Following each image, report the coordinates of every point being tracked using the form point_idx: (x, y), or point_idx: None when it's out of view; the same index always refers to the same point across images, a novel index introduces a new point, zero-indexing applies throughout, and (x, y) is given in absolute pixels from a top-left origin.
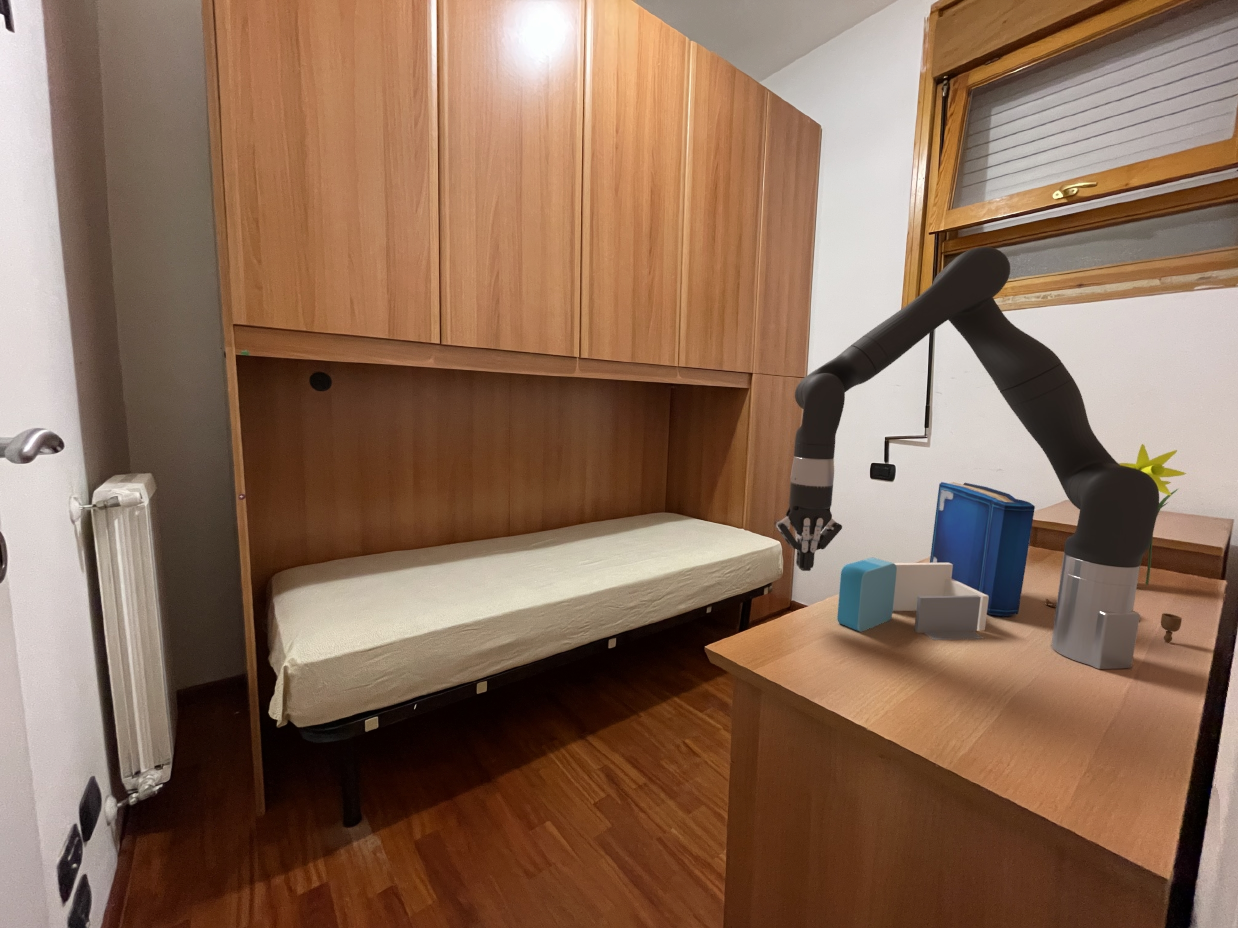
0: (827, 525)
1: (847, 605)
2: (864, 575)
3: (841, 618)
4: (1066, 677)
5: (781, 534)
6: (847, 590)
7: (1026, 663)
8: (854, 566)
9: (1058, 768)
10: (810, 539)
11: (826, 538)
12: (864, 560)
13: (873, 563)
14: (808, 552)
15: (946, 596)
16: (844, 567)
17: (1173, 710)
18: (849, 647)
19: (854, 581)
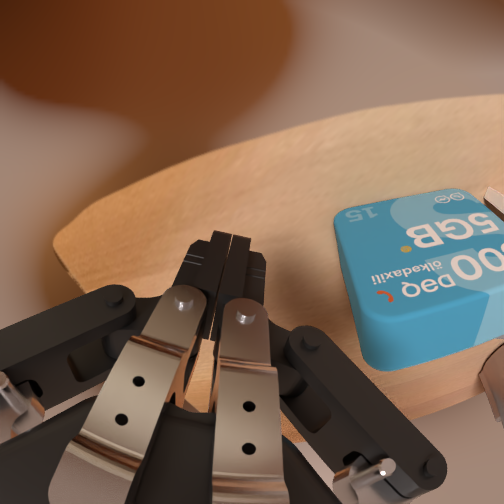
0: (342, 492)
1: (344, 266)
2: (373, 366)
3: (335, 232)
4: (445, 378)
5: (26, 325)
6: (351, 292)
7: (451, 359)
8: (403, 339)
9: (281, 427)
10: (210, 399)
11: (302, 432)
12: (492, 298)
13: (481, 325)
14: (213, 335)
15: (501, 335)
16: (378, 322)
17: (442, 406)
18: (274, 289)
19: (359, 333)
